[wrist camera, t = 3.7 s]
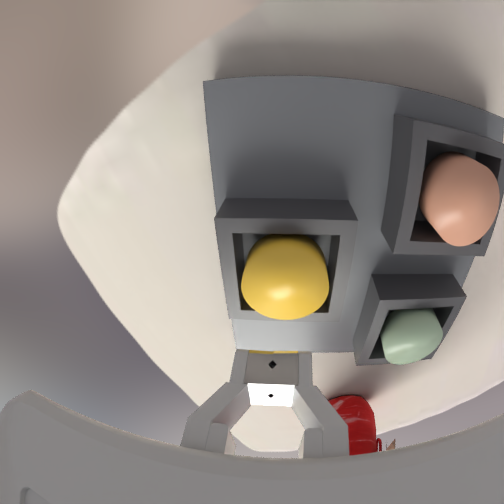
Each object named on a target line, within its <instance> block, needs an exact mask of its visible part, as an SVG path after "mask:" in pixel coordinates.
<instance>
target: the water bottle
mask: <svg viewBox="0 0 504 504" xmlns="http://www.w3.org/2000/svg"><path fill="white" fill-rule="evenodd" d="M329 403H330V404H331V405H332V407H333V408H334V409H335V410H336V412H337V413H338V414H339V415H340V417H341V418H342V419H343V420H344V422H345V423H346V424H347V425H348V438H349V456H351V455H359V454H367V453H374V452H377V451H378V441H379V452H380V451H382V445H381V444H382V442H381V439H379V438H378V439H377V440H376V426H375V418H374V412H373V411H372V409H371V407H370V405H369V403H368V402H367V401H366V400H365V399H363V398H362V397H361V396H354V395H349V396H341V397H338V398H334V399H331V400H329ZM392 449H395V439H394V441H393V442H392V443H391V444H390V446H389V447H388V448H387V449H386V450H392Z"/></svg>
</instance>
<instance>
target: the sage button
mask: <svg viewBox="0 0 504 504" xmlns="http://www.w3.org/2000/svg"><path fill="white" fill-rule="evenodd" d="M380 337H381V341H382V346H383V350H384V354H385V358H386V360H387V361H388V362H390V363H392V364H397V365H403V364H409V363H413V362H416V361H418V360H420V359H422V358H424V357H426V356H427V355H429V354H430V353H432V352H433V351H434V350H435V349H436V348H437V347H438V345H439V344H440V342H441V340H442V337H443V331H442V328H441V326H440V324H439V321H438V319H437V317H436V315H435V312H434V310H433V308H418V309H396V310H394V311H393V312H391V313H390V314H389V315H388V316H387V317H386V318H385V321H384V323H383V326H382V328H381V331H380Z"/></svg>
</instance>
